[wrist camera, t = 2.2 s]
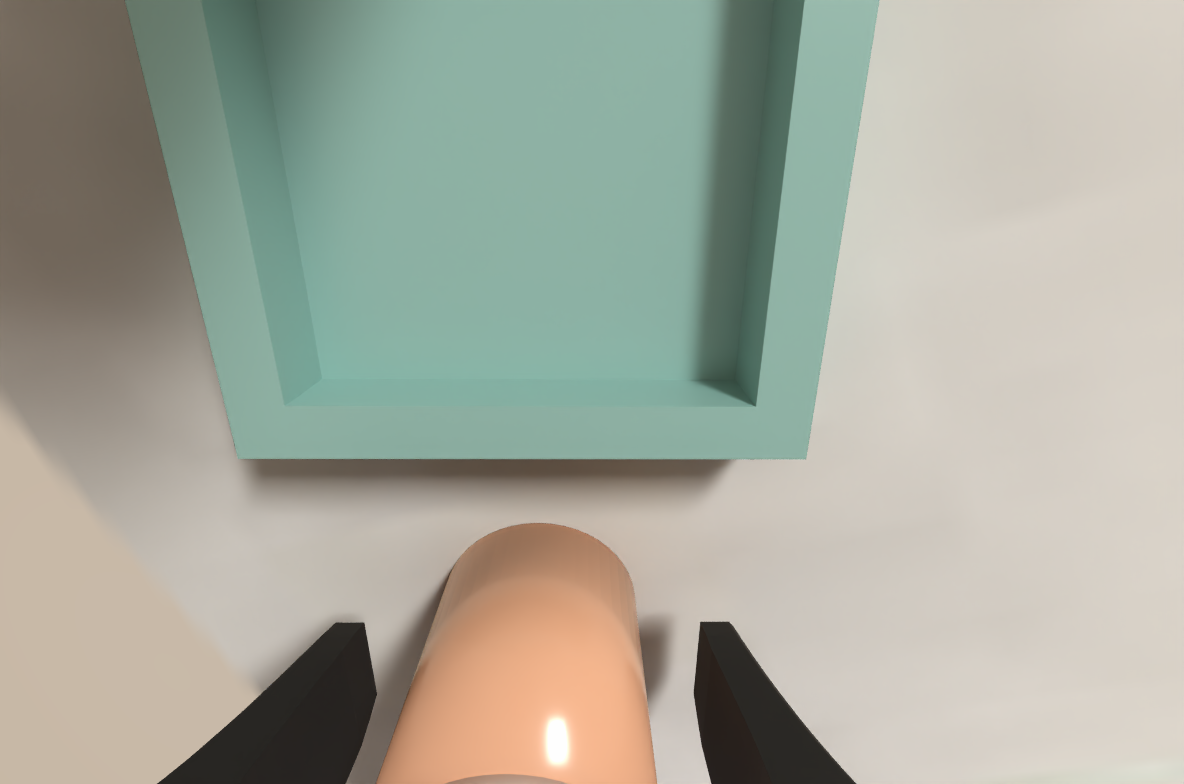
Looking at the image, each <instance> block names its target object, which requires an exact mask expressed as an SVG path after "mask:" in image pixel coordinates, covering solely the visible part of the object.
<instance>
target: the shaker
mask: <svg viewBox="0 0 1184 784" xmlns="http://www.w3.org/2000/svg"><path fill="white" fill-rule="evenodd" d="M376 784H657V779H656V770H655V762H654V753H653V745H652V737H651V728H650V720H649V711H648V703H647V694H646V686H645V678H644V669H643V661H642V652H641V644H640V635H639V627H638V619H637V610H636V602H635V593H634V589H633V584H632V581H631V578H630V576H629V573H628V572H627V570H626V568H625V566H624V564H623V563H622V562H621V561H620V559H619V558H618V557H617V556H616V555H615V554H614V553H613V552H612V551H611V550H610V549H609V548H608V547H607V546H606V545H604V544H603V543H602V542H600V541H599V540H597V539H595V538H594V537H592V536H590V535H588V534H586V533H583V532H581V531H579V530H576V529H573V528H569V527H566V526H561V525H555V524H546V523H530V524H521V525H515V526H510V527H507V528H503V529H500V530H498V531H495V532H493V533H491V534H488V535H487V536H485V537H483V538H481V539H480V540H478V541H477V542H475V543H474V544H473V545H472V546H470V547H469V548H468V549H467V550H466V551H465V552H464V553H463V554H462V555H461V556H460V558H459V559H458V561H457V562H456V564H455V565H454V567H453V569H452V571H451V573H450V575H449V578H448V581H447V584H446V587H445V590H444V592H443V595H442V598H441V601H440V604H439V606H438V609H437V612H436V615H435V618H434V621H433V623H432V626H431V629H430V632H429V635H428V638H427V640H426V643H425V646H424V649H423V652H422V655H421V657H420V660H419V663H418V666H417V669H416V671H415V674H414V677H413V680H412V683H411V686H410V688H409V691H408V694H407V697H406V700H405V703H404V705H403V708H402V711H401V714H400V717H399V719H398V722H397V725H396V728H395V731H394V734H393V736H392V739H391V742H390V745H389V748H388V751H387V753H386V756H385V759H384V762H383V765H382V767H381V770H380V773H379V776H378V779H377V782H376Z"/></svg>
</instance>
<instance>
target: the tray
mask: <svg viewBox="0 0 1184 784" xmlns="http://www.w3.org/2000/svg"><path fill="white" fill-rule="evenodd" d="M125 3H126V7H127V11H128V15H129V19H130V23H131V27H132V31H133V36H134V40H135V44H136V48H137V52H138V56H139V60H140V64H141V68H142V72H143V76H144V80H145V84H146V88H147V92H148V96H149V100H150V104H151V108H152V112H153V116H154V121H155V125H156V129H157V133H158V137H159V141H160V145H161V149H162V153H163V157H164V161H165V165H166V169H167V173H168V177H169V181H170V185H171V189H172V193H173V197H174V201H175V206H176V210H177V214H178V218H179V222H180V226H181V230H182V234H183V238H184V242H185V246H186V250H187V254H188V258H189V262H190V266H191V270H192V274H193V278H194V282H195V286H196V290H197V295H198V299H199V303H200V307H201V311H202V315H203V319H204V323H205V327H206V331H207V335H208V339H209V343H210V347H211V351H212V355H213V359H214V363H215V367H216V371H217V375H218V380H219V384H220V388H221V392H222V396H223V400H224V404H225V408H226V412H227V416H228V420H229V424H230V428H231V432H232V436H233V440H234V444H235V448H236V452H237V456H238V459H806V456H807V450H808V444H809V438H810V431H811V425H812V419H813V413H814V406H815V400H816V394H817V387H818V381H819V375H820V369H821V362H822V356H823V350H824V344H825V337H826V331H827V325H828V319H829V312H830V306H831V300H832V294H833V287H834V281H835V275H836V269H837V262H838V256H839V250H840V243H841V237H842V231H843V225H844V218H845V212H846V206H847V200H848V193H849V187H850V181H851V175H852V168H853V162H854V156H855V150H856V143H857V137H858V131H859V125H860V118H861V112H862V106H863V100H864V93H865V87H866V81H867V74H868V68H869V62H870V56H871V49H872V43H873V37H874V31H875V24H876V18H877V12H878V6H879V0H125Z"/></svg>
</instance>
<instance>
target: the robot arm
mask: <svg viewBox="0 0 1184 784" xmlns="http://www.w3.org/2000/svg"><path fill="white" fill-rule="evenodd" d="M376 696H377V692H376V686H375V681H374V675H373V669H372V664H371V658H370V652H369V647H368V641H367V635H366V630H365V624H364V623H335V624H334V625H333V626H332V627H331V628H330V629H329V630H328V631H326V632H325V633H324V634H323V635H322V636H321V637H320V638H319V639H318V640H317V641H316V642H315V643H314V644H313V645H312V646H311V647H310V648H309V649H308V650H307V651H306V652H305V653H304V654H303V655H302V656H300V657H299V658H298V659H297V660H296V661H295V662H294V663H293V664H292V665H291V666H290V667H289V668H288V669H287V670H286V671H285V672H284V673H283V674H282V675H281V676H280V677H279V678H278V679H277V680H276V681H275V682H273V683H272V684H271V685H270V686H269V687H268V688H267V689H266V690H265V691H264V692H263V693H262V694H261V695H260V696H259V697H257V698H256V699H255V700H254V701H253V702H252V703H251V704H250V705H249V706H248V707H247V708H246V709H245V710H244V711H242V712H241V713H240V714H239V715H238V716H237V717H236V718H235V719H234V720H232V721H231V722H230V723H229V724H228V725H227V726H226V727H224V728H223V729H222V730H221V731H220V732H219V733H218V734H216V735H215V736H214V737H213V738H212V739H211V740H210V741H208V742H207V743H206V744H205V745H204V746H203V747H202V748H200V749H199V750H198V751H197V752H196V753H195V754H193V755H192V756H191V757H190V758H189V759H187V760H186V761H185V762H184V763H183V764H181V765H180V766H179V767H178V768H177V769H175V770H174V771H173V772H171V773H170V774H169V775H168V776H167V777H165V778H164V779H163V780H161V781H160V782H159V783H157V784H346V781H347V779H348V777H349V774H350V772H351V770H352V767H353V765H354V762H355V760H356V758H357V755H358V753H359V750H360V748H361V745H362V742H363V739H364V736H365V733H366V729H367V726H368V723H369V720H370V716H371V713H372V709H373V706H374V703H375V699H376ZM694 699H695V705H696V712H697V719H698V725H699V731H700V738H701V744H702V748H703V752H704V756H705V760H706V764H707V768H708V772H709V776H710V780H711V784H856V783H855V782H854V781H853V780H852V779H851V777H850V776H849V775H848V774H847V773H846V772H845V771H844V770H843V769H842V768H841V767H840V765H839V764H838V763H837V762H836V761H835V760H834V759H833V758H832V756H831V755H830V754H829V753H828V752H827V751H826V749H825V748H824V747H823V746H822V745H821V744H820V742H819V741H818V740H817V739H816V738H815V737H814V735H813V734H812V733H811V732H810V731H809V729H808V728H807V727H806V726H805V724H804V723H803V722H802V721H801V720H800V718H799V717H798V716H797V715H796V713H795V712H794V711H793V709H792V708H791V707H790V705H789V704H788V703H787V702H786V700H785V699H784V698H783V696H782V695H781V694H780V693H779V691H778V690H777V689H776V687H775V686H774V685H773V683H772V682H771V681H770V679H769V678H768V676H767V675H766V674H765V672H764V671H763V669H762V668H761V667H760V665H759V664H758V662H757V661H756V660H755V658H754V657H753V655H752V654H751V652H750V651H749V649H748V648H747V646H746V645H745V643H744V642H743V640H742V639H741V637H740V636H739V634H738V633H737V631H736V630H735V628H734V627H733V625H732V624H730V623H729V622H700V632H699V643H698V653H697V664H696V674H695V685H694Z"/></svg>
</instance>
